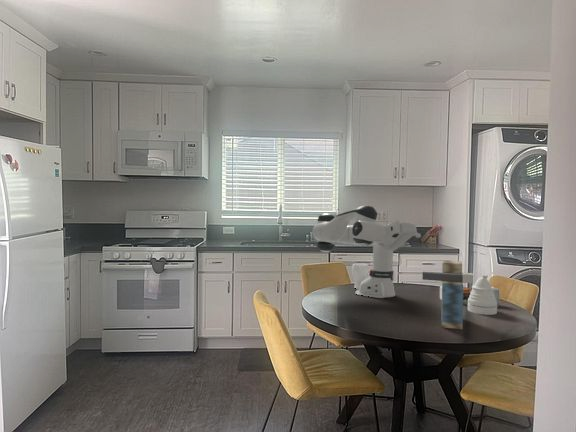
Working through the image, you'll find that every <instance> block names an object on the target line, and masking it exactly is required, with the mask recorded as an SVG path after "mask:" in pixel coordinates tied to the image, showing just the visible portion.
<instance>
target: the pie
mask: <svg viewBox="0 0 576 432" xmlns="http://www.w3.org/2000/svg"><path fill="white" fill-rule="evenodd" d="M471 291H472V289H470V288H469V287H466V286H463V299H464V297H465V298H469V295H470V292H471Z"/></svg>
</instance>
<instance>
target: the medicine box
mask: <svg viewBox="0 0 576 432" xmlns="http://www.w3.org/2000/svg"><path fill="white" fill-rule="evenodd" d="M494 288H495V290H493V293H494V295H495V298H496V301H497V307H499V306H500V289H499V288H498V287H494Z"/></svg>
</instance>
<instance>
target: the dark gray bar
mask: <svg viewBox="0 0 576 432" xmlns="http://www.w3.org/2000/svg"><path fill="white" fill-rule="evenodd" d="M422 280H423V281H425V280H426V281H438V282H442V281H450V282H463V284H474V273H473V272H462V274H452V273H442V272H435V271H433V272H432V271H422Z"/></svg>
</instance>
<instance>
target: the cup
mask: <svg viewBox="0 0 576 432" xmlns="http://www.w3.org/2000/svg"><path fill="white" fill-rule="evenodd" d="M369 271H370V266H369V264H368V263H361V262H360V263H358V262H356V263H353V264H352V265H351V273H352V276H353V279H354V287H353V289H354V288H356V289H355V290H358V289H359V287H360V283H361V282H362V281H363V280H365V279H366V278H368V277H369V276H370V275H369Z"/></svg>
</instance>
